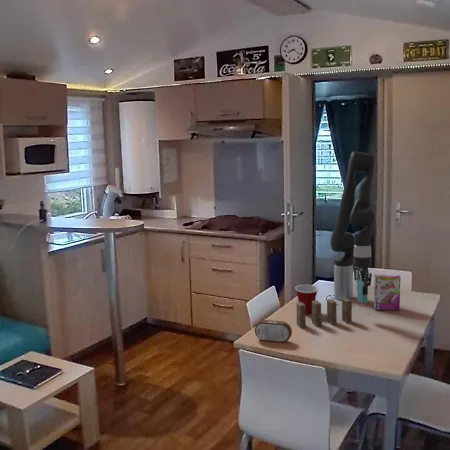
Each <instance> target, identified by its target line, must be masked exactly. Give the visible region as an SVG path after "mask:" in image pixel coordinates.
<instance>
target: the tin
mask: <svg viewBox="0 0 450 450" xmlns="http://www.w3.org/2000/svg"><path fill="white" fill-rule="evenodd" d="M254 332H255V333H254V334H255V336H256V337H257V338H258V339H259V340H260V341H263V342H274V343H285V342H288V341H289V340H290V338H291V337H292V333H293V329H292V327H291V326H290V324H289V323H287V322H285V321H282V320H281V321H280V320H271V319H270V320H269V319H262V320H260V321H258V322H257V323H256V325H255V327H254Z"/></svg>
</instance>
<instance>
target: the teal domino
mask: <svg viewBox="0 0 450 450" xmlns="http://www.w3.org/2000/svg"><path fill="white" fill-rule="evenodd" d="M363 279H365V278H363ZM356 287H357V288H356V291H357V295H356V297H357V301H358V302H359V303H362V304H367V303H368V294H367V295H363V286H362V281H361V280H360V278H358V279H357V283H356Z"/></svg>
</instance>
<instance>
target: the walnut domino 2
mask: <svg viewBox="0 0 450 450" xmlns="http://www.w3.org/2000/svg"><path fill="white" fill-rule="evenodd" d="M311 323H312V324H313V325H314V326H315V327H322V303H321V302H319V301H318V300H315V301H312V313H311Z"/></svg>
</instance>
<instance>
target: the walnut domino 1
mask: <svg viewBox="0 0 450 450" xmlns="http://www.w3.org/2000/svg"><path fill="white" fill-rule="evenodd" d="M306 315H307V314H306V306H305V304H304V303H302V302H298V301H297V302H296V326H297V327H298V328H300V329H305V327H306V325H307V322H306V321H307V320H306V319H307V318H306V317H307V316H306ZM306 328H307V327H306Z"/></svg>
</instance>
